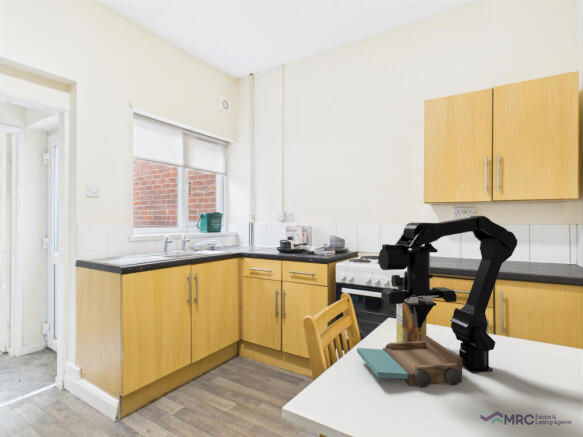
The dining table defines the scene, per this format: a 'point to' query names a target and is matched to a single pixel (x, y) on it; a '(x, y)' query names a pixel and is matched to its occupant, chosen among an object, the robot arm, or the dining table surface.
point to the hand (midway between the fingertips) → (418, 327)
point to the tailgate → (382, 363)
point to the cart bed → (426, 362)
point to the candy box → (408, 326)
